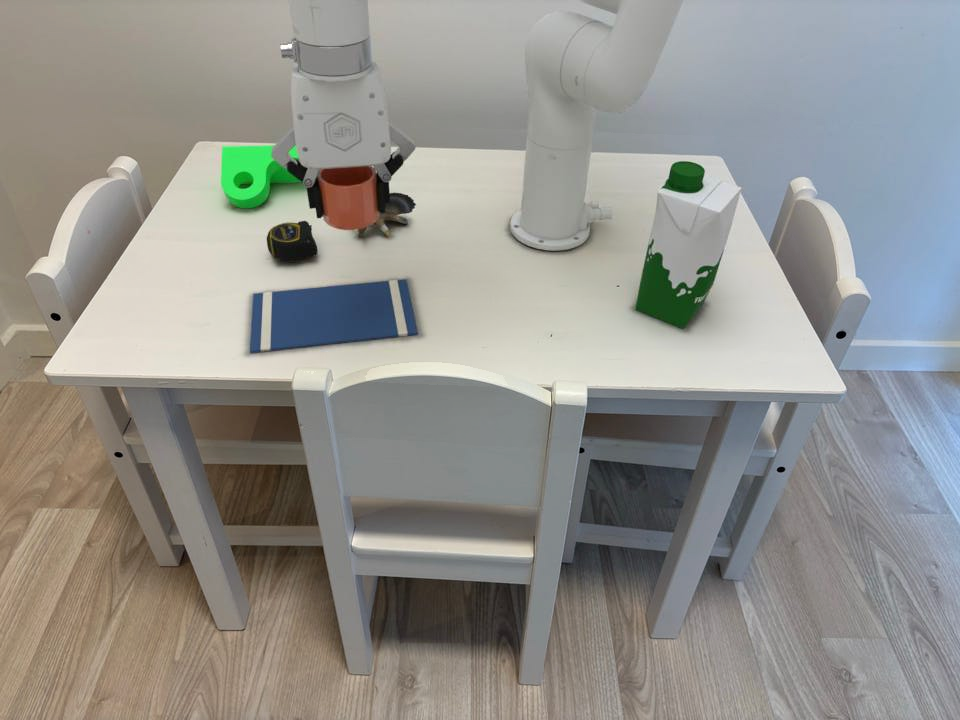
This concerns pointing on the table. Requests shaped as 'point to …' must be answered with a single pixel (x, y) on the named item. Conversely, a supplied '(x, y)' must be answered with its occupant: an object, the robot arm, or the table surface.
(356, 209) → the orange plastic cup
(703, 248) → the milk carton
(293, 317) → the towel
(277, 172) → the bracket
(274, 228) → the tape measure
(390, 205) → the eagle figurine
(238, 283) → the table surface
